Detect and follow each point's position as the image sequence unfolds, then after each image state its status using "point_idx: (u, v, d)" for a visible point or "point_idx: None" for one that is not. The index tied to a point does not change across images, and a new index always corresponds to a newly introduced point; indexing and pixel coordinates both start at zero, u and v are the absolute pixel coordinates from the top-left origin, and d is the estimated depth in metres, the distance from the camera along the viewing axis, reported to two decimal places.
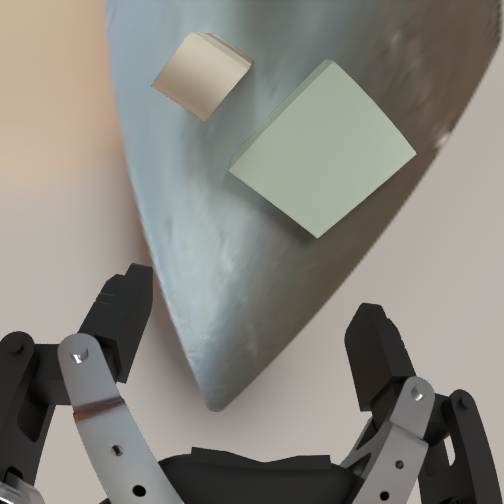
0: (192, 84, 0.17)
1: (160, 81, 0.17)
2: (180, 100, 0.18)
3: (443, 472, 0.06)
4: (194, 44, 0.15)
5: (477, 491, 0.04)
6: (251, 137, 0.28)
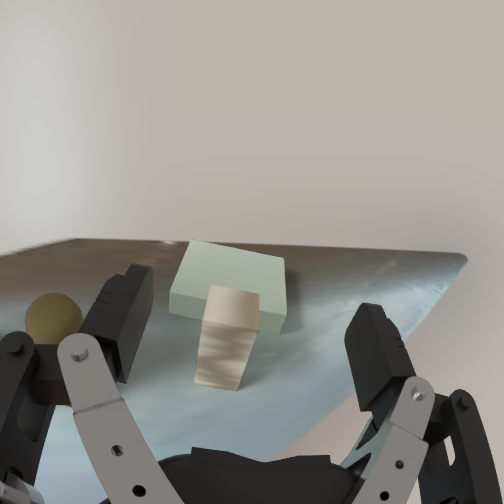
0: (240, 306, 0.26)
1: (250, 325, 0.24)
2: (255, 310, 0.26)
3: (443, 472, 0.06)
4: (211, 314, 0.24)
5: (477, 491, 0.04)
6: None
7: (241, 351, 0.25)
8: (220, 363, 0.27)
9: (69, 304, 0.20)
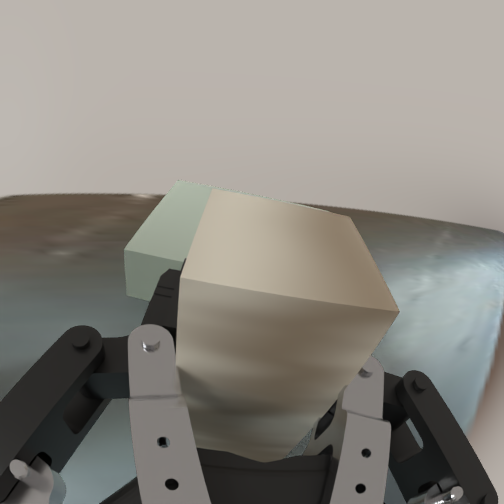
0: (313, 240, 0.08)
1: (370, 296, 0.06)
2: (361, 252, 0.08)
3: (414, 458, 0.06)
4: (216, 260, 0.06)
5: (457, 472, 0.05)
6: None
7: (316, 390, 0.07)
8: (243, 423, 0.08)
9: None
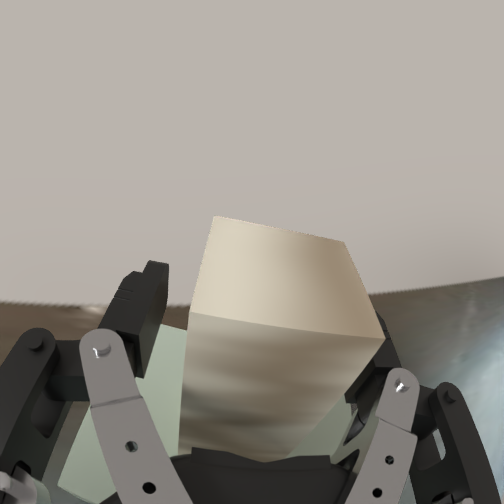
0: (308, 270, 0.08)
1: (359, 325, 0.07)
2: (353, 279, 0.08)
3: (434, 467, 0.06)
4: (221, 293, 0.07)
5: (471, 484, 0.04)
6: None
7: (310, 404, 0.08)
8: (242, 432, 0.09)
9: None
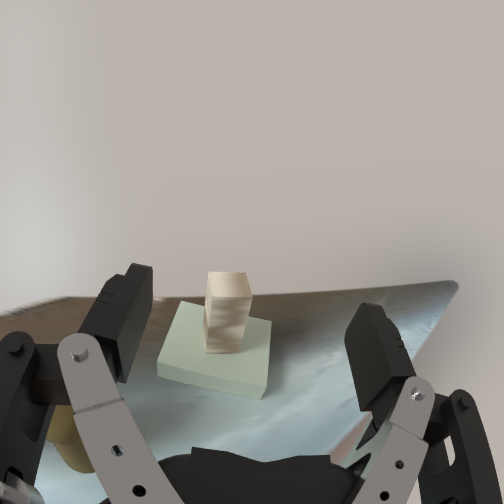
0: (235, 283, 0.35)
1: (246, 294, 0.34)
2: (246, 284, 0.35)
3: (443, 472, 0.06)
4: (217, 292, 0.33)
5: (477, 491, 0.04)
6: (237, 392, 0.37)
7: (241, 316, 0.35)
8: (225, 330, 0.36)
9: (70, 405, 0.20)
